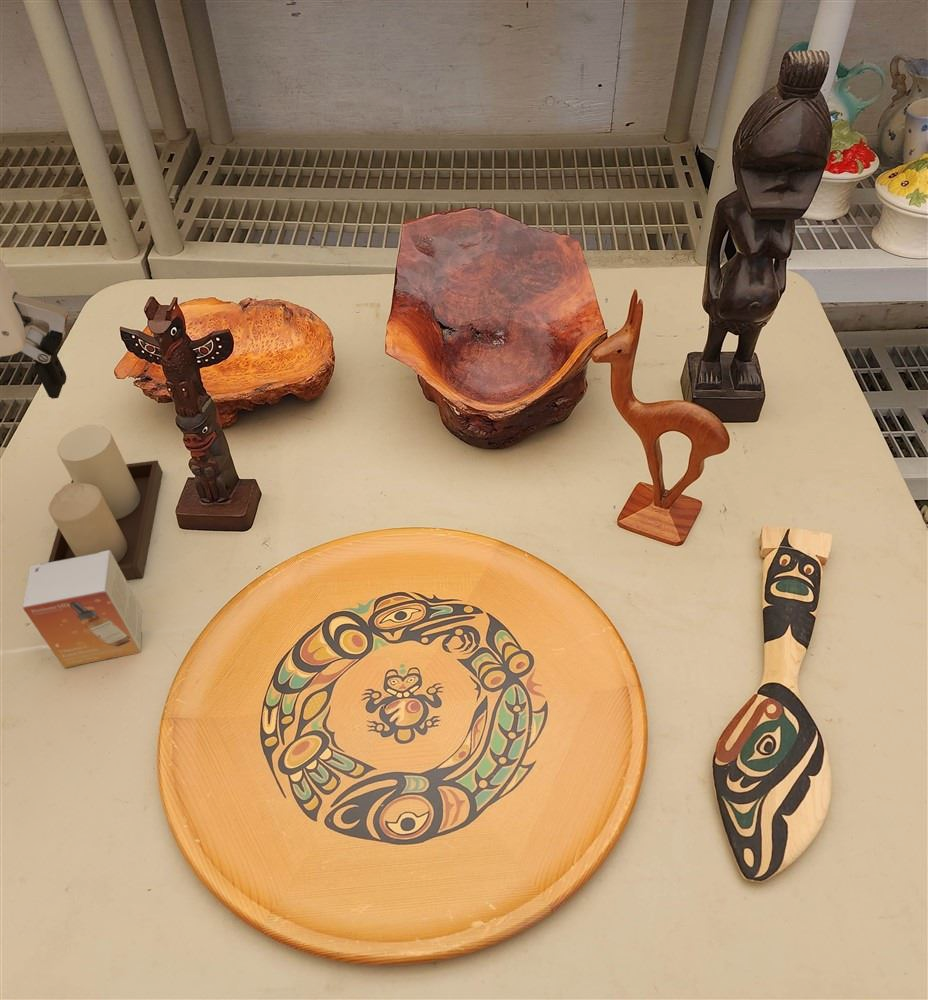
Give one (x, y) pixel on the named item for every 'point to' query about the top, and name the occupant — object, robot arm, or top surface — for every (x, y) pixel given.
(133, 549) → the tray
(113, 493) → the pillar
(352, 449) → the top surface
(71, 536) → the candle
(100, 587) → the small box
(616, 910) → the top surface
